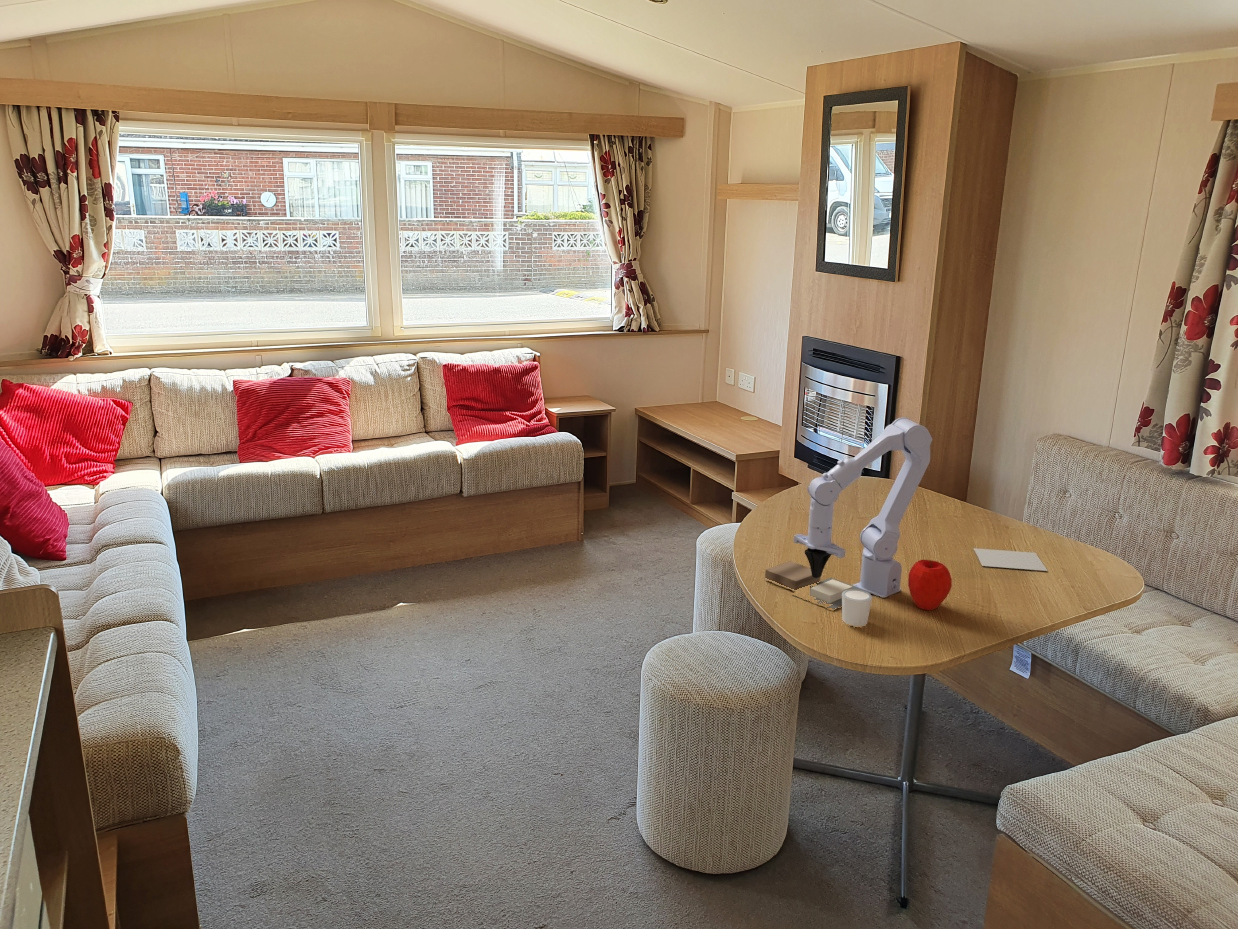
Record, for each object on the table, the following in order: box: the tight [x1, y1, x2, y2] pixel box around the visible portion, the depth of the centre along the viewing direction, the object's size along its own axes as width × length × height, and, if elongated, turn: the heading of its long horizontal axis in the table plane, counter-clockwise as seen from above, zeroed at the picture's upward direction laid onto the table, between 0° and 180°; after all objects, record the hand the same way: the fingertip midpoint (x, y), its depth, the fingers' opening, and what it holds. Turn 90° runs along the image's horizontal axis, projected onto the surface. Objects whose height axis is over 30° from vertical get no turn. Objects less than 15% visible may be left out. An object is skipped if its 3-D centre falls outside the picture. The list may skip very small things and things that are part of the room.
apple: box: [907, 559, 953, 611], centre depth 219 cm, size 10×10×12 cm
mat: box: [810, 577, 873, 609], centre depth 227 cm, size 13×16×1 cm
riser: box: [764, 560, 821, 590], centre depth 235 cm, size 10×10×3 cm
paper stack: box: [973, 547, 1048, 572], centre depth 248 cm, size 23×25×1 cm
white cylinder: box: [841, 589, 873, 626], centre depth 211 cm, size 7×7×7 cm
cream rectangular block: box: [810, 578, 853, 603], centre depth 226 cm, size 6×9×2 cm, turn 131°
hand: (816, 576), depth 229 cm, fingers closed
